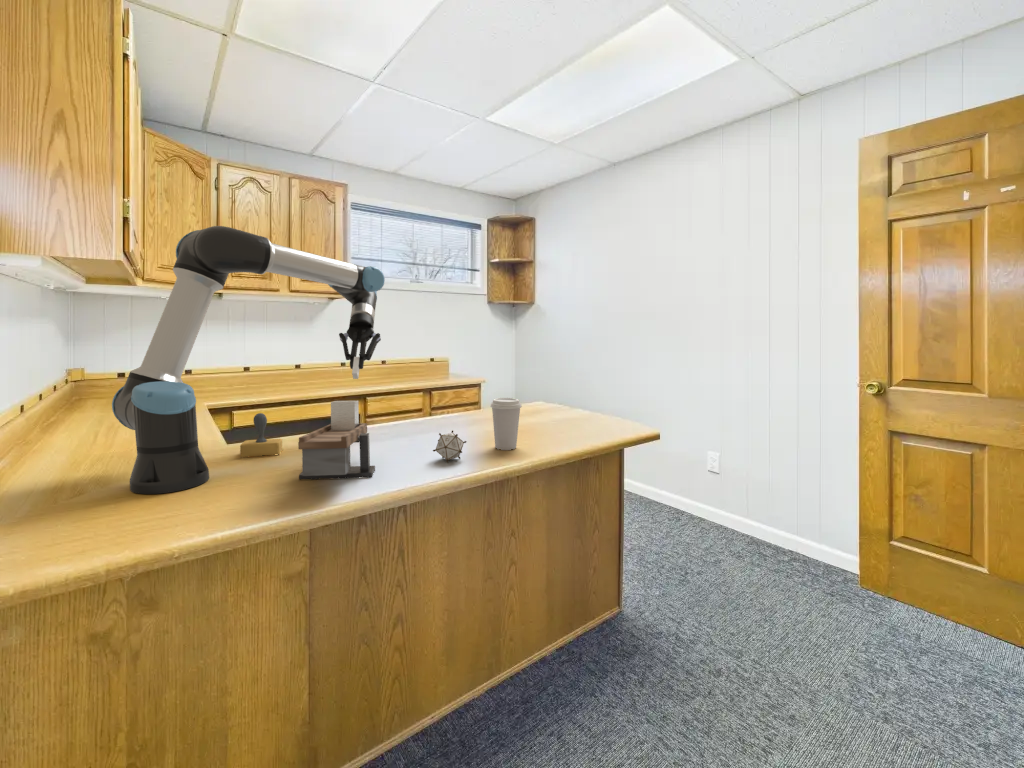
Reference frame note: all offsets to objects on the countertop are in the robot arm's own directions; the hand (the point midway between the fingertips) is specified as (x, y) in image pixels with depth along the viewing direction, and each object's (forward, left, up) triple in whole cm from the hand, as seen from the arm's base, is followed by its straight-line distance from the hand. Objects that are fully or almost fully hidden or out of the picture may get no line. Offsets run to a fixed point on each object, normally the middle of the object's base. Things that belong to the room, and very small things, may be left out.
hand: (355, 376), depth 145 cm
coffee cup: (+33, +31, -22) cm, 51 cm away
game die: (+31, +10, -22) cm, 39 cm away
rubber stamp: (-13, -23, -22) cm, 34 cm away
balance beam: (+21, -18, -19) cm, 34 cm away
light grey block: (+13, -11, -13) cm, 21 cm away
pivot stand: (+21, -18, -22) cm, 35 cm away
